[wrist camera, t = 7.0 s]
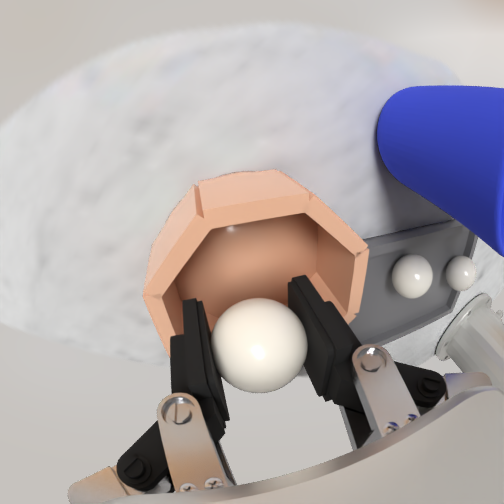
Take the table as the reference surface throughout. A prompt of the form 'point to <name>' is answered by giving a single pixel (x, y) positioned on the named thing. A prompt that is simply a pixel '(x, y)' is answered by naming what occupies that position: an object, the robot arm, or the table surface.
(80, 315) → the table surface
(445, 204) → the mug
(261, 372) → the white ball
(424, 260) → the white ball
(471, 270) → the white ball
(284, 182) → the bowl
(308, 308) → the robot arm
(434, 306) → the tray
